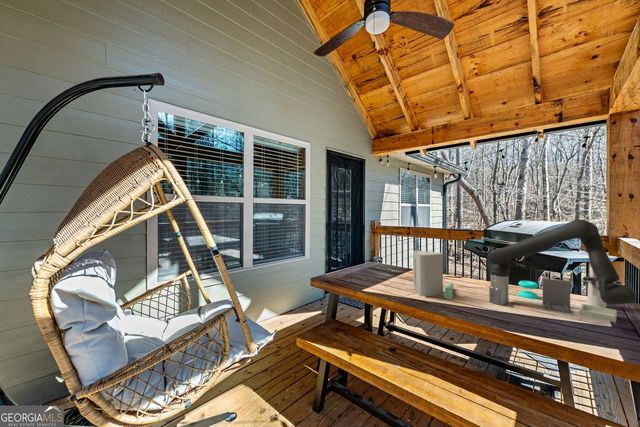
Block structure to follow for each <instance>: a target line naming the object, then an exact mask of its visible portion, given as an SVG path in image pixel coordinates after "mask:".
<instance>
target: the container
mask: <svg viewBox="0 0 640 427" xmlns="http://www.w3.org/2000/svg"><path fill="white" fill-rule="evenodd" d="M443 297H444V298H445V299H447V300H451V299H454V298H453V297H454V284H453V283H452V282H447V283H446V285H445V288H444V291H443Z"/></svg>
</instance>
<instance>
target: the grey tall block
mask: <svg viewBox="0 0 640 427" xmlns="http://www.w3.org/2000/svg"><path fill="white" fill-rule="evenodd" d="M589 276H591V277H595V278H597V277H596V275H595V273H594V271H593V269H592V267H591V266H589ZM590 293H591V294H592V295H593V296H600V292H599V291H598V290H597V289H596V288H595V287H594V286H593V284H591V283H590Z"/></svg>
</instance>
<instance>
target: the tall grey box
mask: <svg viewBox="0 0 640 427" xmlns="http://www.w3.org/2000/svg"><path fill="white" fill-rule="evenodd" d="M443 254H444V253H443V252H435V251H423V250H413V251H412V259H413V261H412V263H413V264H412V267H413V268H412V271H413V274H412V275H413V276H412V277H413V278H412V279H413V280H412V282H413V291H414V290H415V291H416V292H417V293H418V294H419V295H418V294H417V293H416V292H415V291H414V292H415V293H416V294H417V295H418V296H420V297H422V296H430V297H434V296H433V295H438V296H442V295H444V264H443V260H444V257H443Z"/></svg>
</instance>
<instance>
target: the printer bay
mask: <svg viewBox="0 0 640 427" xmlns="http://www.w3.org/2000/svg"><path fill="white" fill-rule="evenodd" d="M542 305H543V308H544V310H545V311H549V312H556V313H562V314H569V315H575V313H574V311H573V310H572V309H571V281H570V280H563V279H552V278H543V277H542Z"/></svg>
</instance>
